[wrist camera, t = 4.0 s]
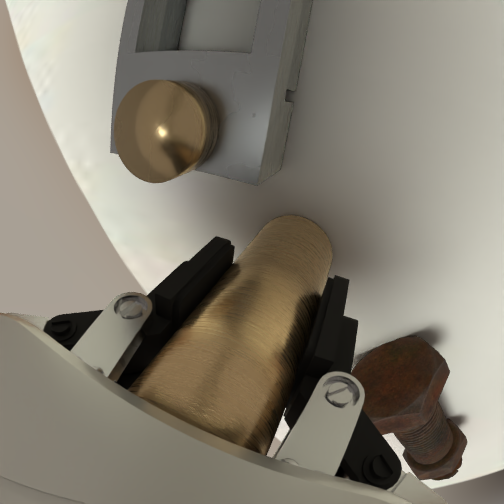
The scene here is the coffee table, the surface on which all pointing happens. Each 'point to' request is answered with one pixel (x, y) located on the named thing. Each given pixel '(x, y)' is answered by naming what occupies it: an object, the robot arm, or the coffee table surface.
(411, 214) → the coffee table surface
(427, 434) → the bolt
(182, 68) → the brass knob on bracket
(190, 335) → the link pin
